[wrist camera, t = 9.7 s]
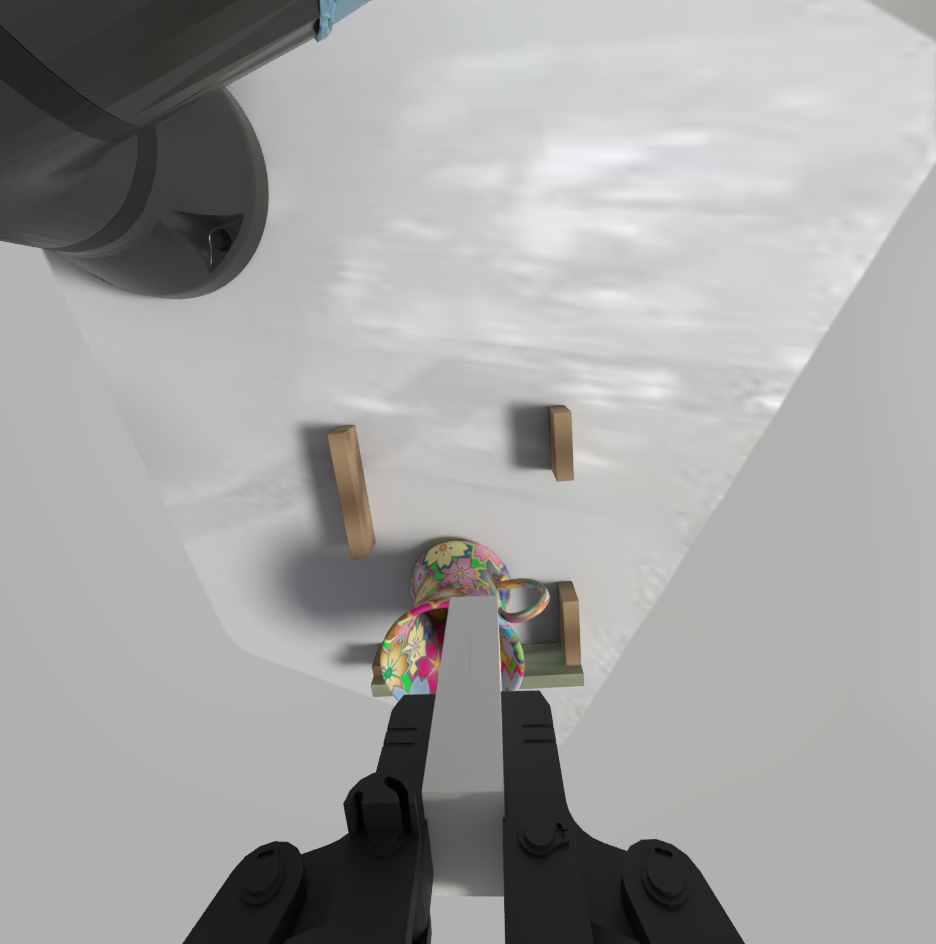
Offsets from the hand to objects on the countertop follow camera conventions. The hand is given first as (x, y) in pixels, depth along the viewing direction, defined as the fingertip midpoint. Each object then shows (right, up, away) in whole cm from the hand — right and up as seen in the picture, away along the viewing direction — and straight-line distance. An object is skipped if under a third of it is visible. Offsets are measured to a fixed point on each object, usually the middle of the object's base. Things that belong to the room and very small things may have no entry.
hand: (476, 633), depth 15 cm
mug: (0, -3, +25) cm, 25 cm away
